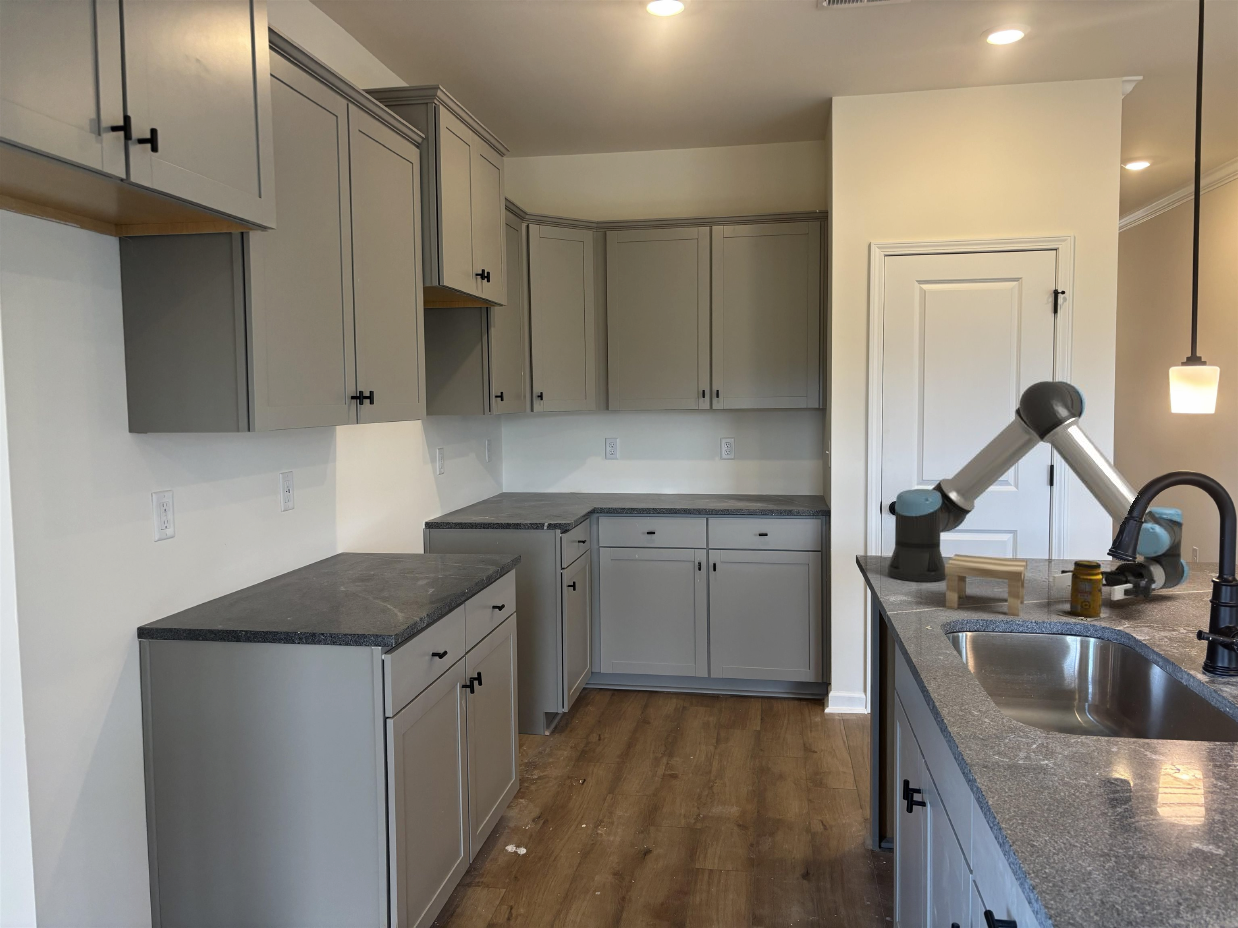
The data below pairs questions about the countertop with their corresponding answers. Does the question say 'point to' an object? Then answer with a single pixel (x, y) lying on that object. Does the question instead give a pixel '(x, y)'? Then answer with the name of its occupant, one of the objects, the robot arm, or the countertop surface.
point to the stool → (985, 569)
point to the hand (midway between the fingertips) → (1082, 587)
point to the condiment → (1085, 591)
